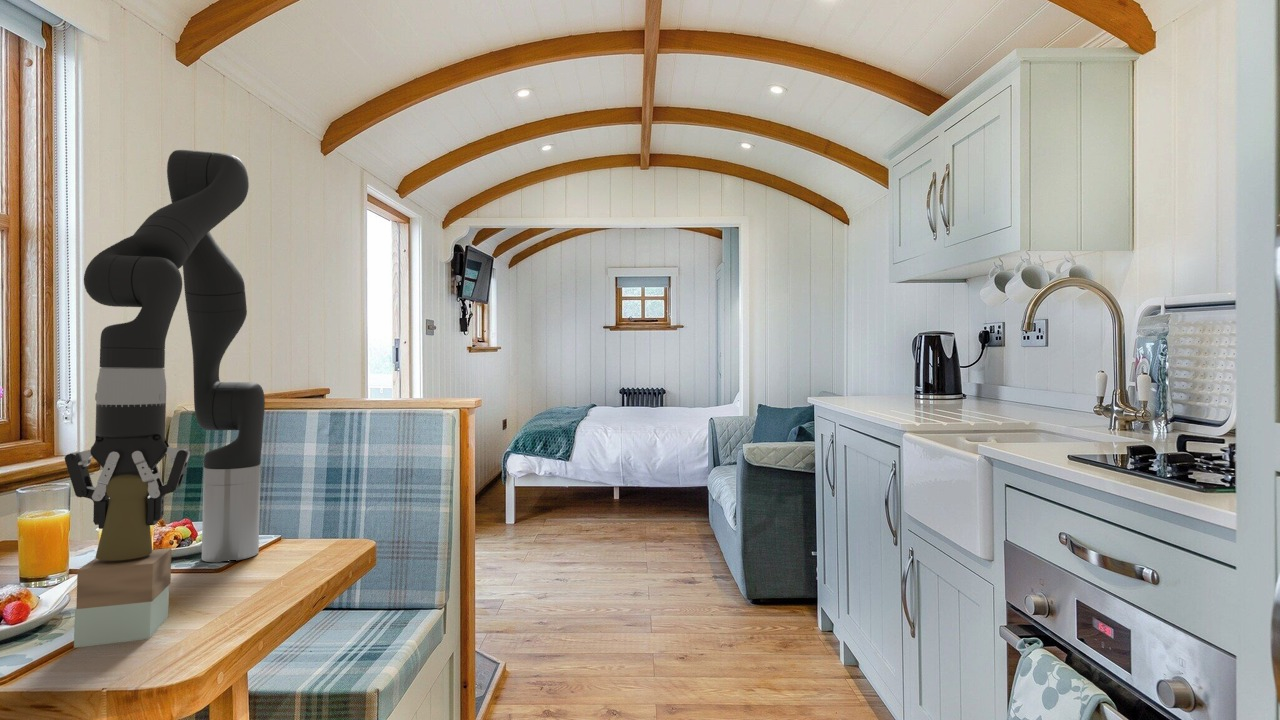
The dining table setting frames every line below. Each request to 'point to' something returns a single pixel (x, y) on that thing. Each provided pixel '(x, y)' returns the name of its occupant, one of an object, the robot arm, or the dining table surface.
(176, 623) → the dining table surface
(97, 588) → the tower top block
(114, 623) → the tower base block
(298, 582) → the dining table surface
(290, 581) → the dining table surface
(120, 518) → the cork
